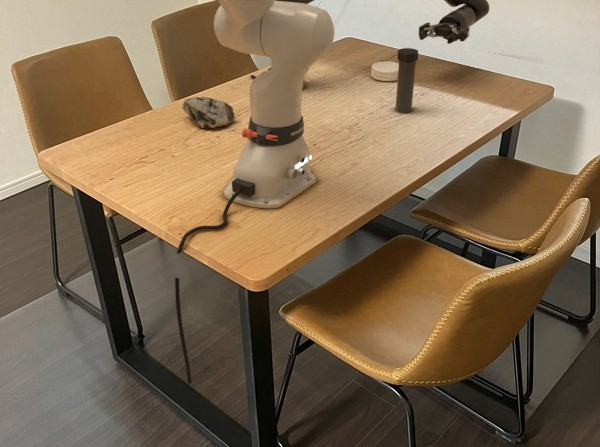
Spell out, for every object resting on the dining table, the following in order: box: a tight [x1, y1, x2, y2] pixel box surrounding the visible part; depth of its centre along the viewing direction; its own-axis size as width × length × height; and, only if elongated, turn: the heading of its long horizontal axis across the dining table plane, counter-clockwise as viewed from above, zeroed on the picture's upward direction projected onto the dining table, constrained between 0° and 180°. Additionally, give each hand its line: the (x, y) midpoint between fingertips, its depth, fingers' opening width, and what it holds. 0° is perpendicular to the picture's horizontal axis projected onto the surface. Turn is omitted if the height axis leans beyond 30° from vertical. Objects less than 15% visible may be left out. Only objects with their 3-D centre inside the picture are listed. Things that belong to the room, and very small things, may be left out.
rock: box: [181, 96, 236, 129], centre depth 170 cm, size 15×10×7 cm
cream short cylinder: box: [370, 61, 399, 82], centre depth 199 cm, size 10×10×4 cm
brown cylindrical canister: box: [395, 60, 417, 114], centre depth 172 cm, size 4×4×16 cm
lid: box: [397, 47, 419, 62], centre depth 168 cm, size 6×6×2 cm
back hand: (434, 38), depth 181 cm, fingers open, 8 cm apart
